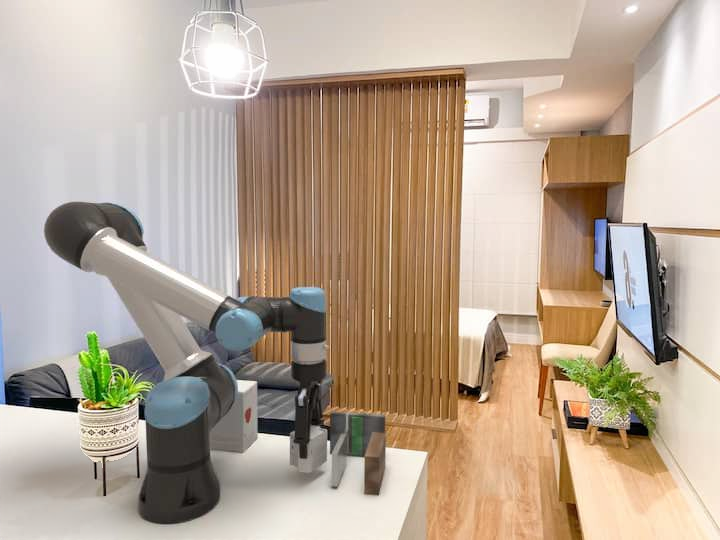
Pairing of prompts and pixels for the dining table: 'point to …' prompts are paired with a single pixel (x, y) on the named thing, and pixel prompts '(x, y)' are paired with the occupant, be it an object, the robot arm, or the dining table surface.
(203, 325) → the robot arm
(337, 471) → the plate
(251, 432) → the supplement box
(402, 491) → the dining table surface
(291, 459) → the skincare box
